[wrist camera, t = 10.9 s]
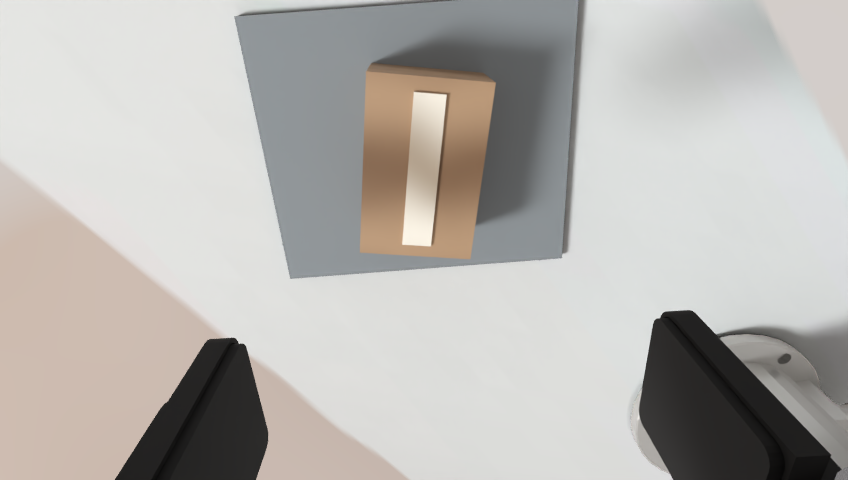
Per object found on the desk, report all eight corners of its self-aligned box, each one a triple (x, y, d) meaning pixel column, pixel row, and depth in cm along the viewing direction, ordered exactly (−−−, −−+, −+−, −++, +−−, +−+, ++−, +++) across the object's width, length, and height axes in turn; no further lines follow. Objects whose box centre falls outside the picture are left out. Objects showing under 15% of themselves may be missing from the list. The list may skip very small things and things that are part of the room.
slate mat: (576, -9, 23) (579, -9, 22) (559, 254, 29) (561, 258, 28) (236, 16, 23) (234, 16, 22) (291, 275, 29) (290, 278, 28)
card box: (462, 229, 27) (470, 260, 24) (365, 223, 27) (359, 253, 24) (483, 72, 24) (496, 83, 20) (371, 62, 23) (365, 71, 20)
